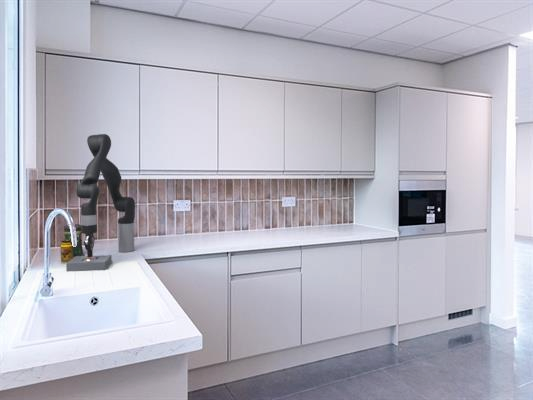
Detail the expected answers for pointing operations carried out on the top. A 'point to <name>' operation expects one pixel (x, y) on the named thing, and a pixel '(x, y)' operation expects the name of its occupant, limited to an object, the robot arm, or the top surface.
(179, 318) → the top surface
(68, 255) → the condiment
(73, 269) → the box
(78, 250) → the green bottle
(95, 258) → the button
